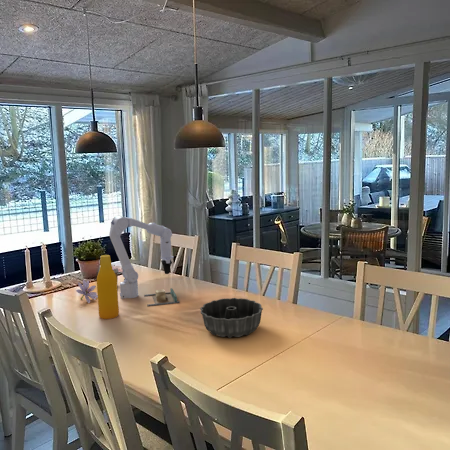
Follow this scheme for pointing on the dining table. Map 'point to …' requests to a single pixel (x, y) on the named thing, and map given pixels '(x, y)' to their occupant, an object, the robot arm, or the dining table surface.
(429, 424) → the dining table surface
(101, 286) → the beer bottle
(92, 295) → the water lily
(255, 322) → the bundt pan
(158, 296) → the maple cube
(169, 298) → the clear flat box
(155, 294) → the lane rails
